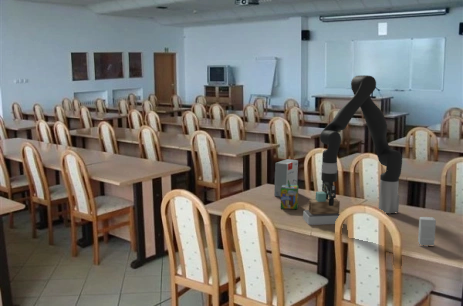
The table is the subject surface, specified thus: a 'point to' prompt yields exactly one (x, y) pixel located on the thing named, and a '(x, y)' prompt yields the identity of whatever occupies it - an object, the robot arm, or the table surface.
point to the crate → (321, 196)
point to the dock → (319, 218)
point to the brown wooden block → (323, 207)
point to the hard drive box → (285, 174)
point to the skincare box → (426, 230)
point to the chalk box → (289, 196)
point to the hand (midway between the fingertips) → (328, 203)
